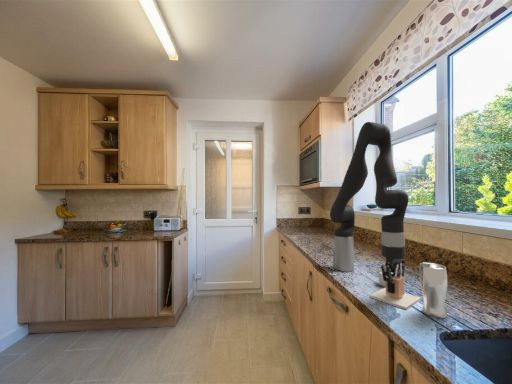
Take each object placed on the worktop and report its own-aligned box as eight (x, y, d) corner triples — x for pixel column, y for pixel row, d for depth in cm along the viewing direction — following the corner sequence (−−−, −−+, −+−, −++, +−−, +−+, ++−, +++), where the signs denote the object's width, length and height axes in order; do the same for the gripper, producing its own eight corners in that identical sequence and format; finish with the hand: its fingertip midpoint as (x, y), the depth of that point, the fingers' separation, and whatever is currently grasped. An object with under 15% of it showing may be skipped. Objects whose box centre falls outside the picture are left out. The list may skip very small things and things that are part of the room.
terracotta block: (385, 293, 82) (385, 277, 82) (391, 290, 85) (390, 274, 85) (399, 297, 79) (398, 280, 79) (404, 294, 81) (403, 277, 81)
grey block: (379, 284, 95) (378, 272, 95) (383, 282, 97) (383, 270, 97) (389, 287, 92) (388, 275, 92) (393, 285, 94) (393, 273, 94)
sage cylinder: (392, 280, 100) (392, 266, 100) (396, 278, 102) (396, 264, 102) (402, 282, 97) (402, 268, 97) (406, 280, 99) (406, 266, 99)
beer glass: (415, 308, 74) (413, 262, 75) (435, 307, 75) (433, 262, 75) (433, 319, 67) (431, 269, 68) (455, 318, 68) (453, 268, 68)
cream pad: (370, 297, 83) (369, 295, 83) (385, 289, 90) (385, 287, 90) (406, 310, 73) (406, 307, 73) (420, 299, 80) (420, 297, 80)
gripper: (391, 240, 89) (392, 283, 89) (372, 245, 81) (374, 292, 81) (412, 243, 83) (414, 289, 83) (395, 248, 75) (396, 300, 75)
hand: (394, 290), depth 82 cm, fingers open, 4 cm apart
